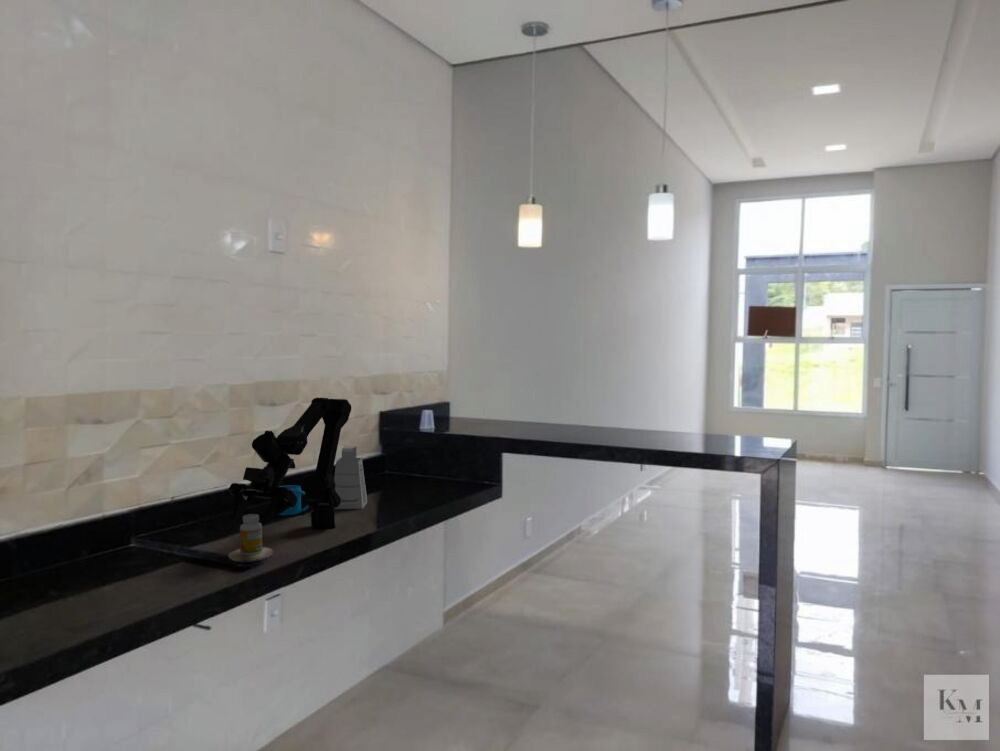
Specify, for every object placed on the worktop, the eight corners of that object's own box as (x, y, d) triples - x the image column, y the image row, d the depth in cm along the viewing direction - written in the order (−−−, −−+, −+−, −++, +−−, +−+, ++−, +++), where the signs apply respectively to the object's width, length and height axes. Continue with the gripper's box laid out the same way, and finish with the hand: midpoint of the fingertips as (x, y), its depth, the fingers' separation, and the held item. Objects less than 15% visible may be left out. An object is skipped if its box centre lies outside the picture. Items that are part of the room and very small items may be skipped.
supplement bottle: (239, 551, 190) (238, 514, 190) (260, 548, 193) (260, 512, 192) (241, 556, 185) (240, 519, 185) (263, 554, 188) (263, 516, 187)
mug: (270, 514, 235) (270, 489, 234) (283, 509, 243) (282, 484, 242) (304, 516, 232) (304, 491, 232) (316, 510, 240) (316, 486, 240)
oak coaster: (274, 549, 196) (274, 545, 195) (270, 561, 185) (270, 557, 185) (231, 551, 193) (231, 548, 193) (225, 564, 182) (225, 560, 182)
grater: (367, 501, 254) (367, 444, 253) (362, 508, 243) (362, 449, 242) (337, 502, 253) (336, 444, 252) (331, 509, 243) (330, 449, 242)
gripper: (231, 453, 195) (202, 502, 185) (290, 457, 189) (263, 508, 179) (252, 476, 203) (224, 525, 193) (308, 481, 196) (283, 532, 187)
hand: (247, 522), depth 188 cm, fingers open, 9 cm apart
